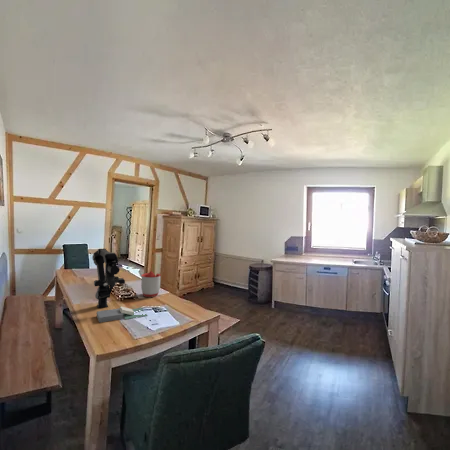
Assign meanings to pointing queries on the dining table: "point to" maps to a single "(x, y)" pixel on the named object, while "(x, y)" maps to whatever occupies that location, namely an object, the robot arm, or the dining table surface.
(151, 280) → the citrus juicer
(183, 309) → the dining table surface
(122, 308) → the tile
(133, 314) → the mat
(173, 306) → the dining table surface
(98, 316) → the plate
